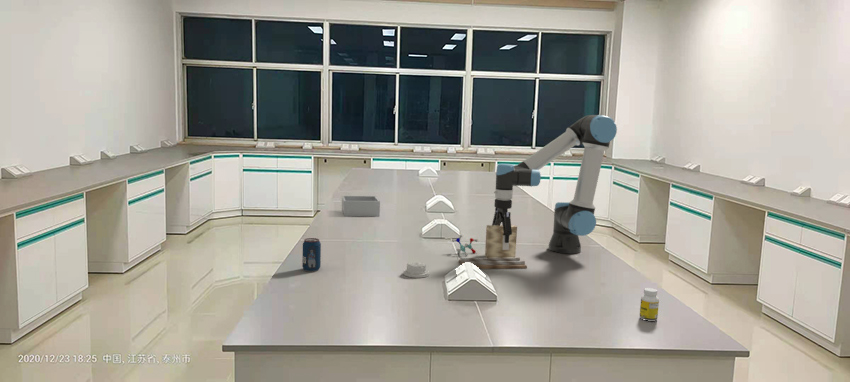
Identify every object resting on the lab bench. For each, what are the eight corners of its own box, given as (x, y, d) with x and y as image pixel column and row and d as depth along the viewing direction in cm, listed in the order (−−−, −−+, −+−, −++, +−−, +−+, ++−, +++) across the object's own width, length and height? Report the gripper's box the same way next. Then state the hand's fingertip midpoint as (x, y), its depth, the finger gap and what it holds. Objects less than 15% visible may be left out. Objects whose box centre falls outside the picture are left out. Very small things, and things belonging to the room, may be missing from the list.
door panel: (512, 255, 277) (514, 225, 275) (515, 257, 273) (517, 226, 271) (484, 256, 274) (486, 225, 272) (487, 258, 271) (488, 226, 269)
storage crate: (375, 210, 384) (375, 196, 383) (379, 216, 364) (379, 201, 363) (341, 210, 380) (341, 195, 379) (343, 216, 360) (344, 201, 359)
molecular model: (476, 250, 269) (467, 229, 272) (456, 259, 271) (448, 238, 274) (483, 252, 280) (474, 232, 283) (464, 261, 282) (455, 240, 285)
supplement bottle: (636, 316, 199) (639, 287, 198) (652, 316, 199) (655, 287, 198) (643, 322, 193) (646, 292, 192) (660, 322, 194) (663, 292, 193)
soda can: (313, 266, 245) (314, 237, 243) (323, 270, 240) (324, 240, 238) (298, 269, 240) (299, 239, 238) (308, 273, 235) (309, 242, 233)
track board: (516, 261, 267) (517, 256, 267) (526, 268, 255) (527, 263, 255) (458, 261, 262) (459, 256, 261) (466, 269, 250) (466, 263, 250)
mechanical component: (424, 279, 233) (432, 273, 242) (424, 268, 232) (432, 262, 241) (399, 276, 236) (408, 270, 245) (399, 265, 235) (409, 259, 245)
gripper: (486, 194, 282) (484, 240, 284) (504, 203, 257) (501, 252, 260) (502, 195, 283) (499, 240, 286) (521, 203, 259) (518, 252, 262)
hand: (500, 246), depth 273 cm, fingers open, 13 cm apart
